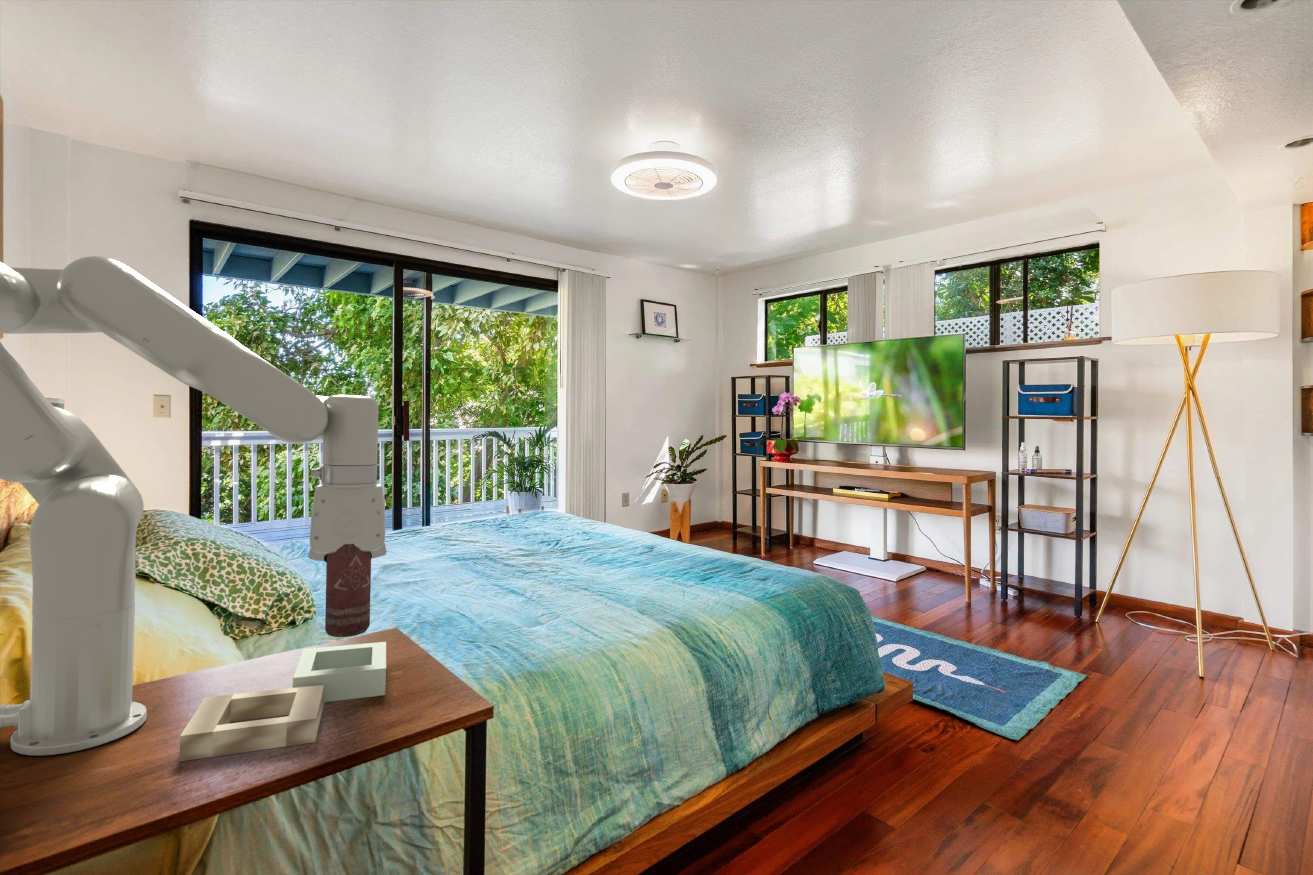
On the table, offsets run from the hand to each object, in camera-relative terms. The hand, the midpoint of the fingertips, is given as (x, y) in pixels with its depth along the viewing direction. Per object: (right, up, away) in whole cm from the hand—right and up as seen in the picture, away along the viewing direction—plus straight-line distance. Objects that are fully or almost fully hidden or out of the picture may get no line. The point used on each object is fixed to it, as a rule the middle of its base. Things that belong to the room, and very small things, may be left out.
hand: (347, 595), depth 96 cm
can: (0, -6, 0) cm, 6 cm away
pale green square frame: (-1, -14, 0) cm, 14 cm away
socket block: (-4, -14, -15) cm, 21 cm away
